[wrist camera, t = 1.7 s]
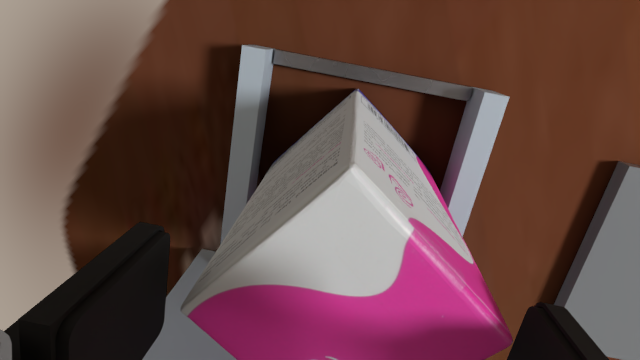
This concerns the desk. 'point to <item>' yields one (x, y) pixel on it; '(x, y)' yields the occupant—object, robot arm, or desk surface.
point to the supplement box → (347, 257)
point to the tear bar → (372, 75)
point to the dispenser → (247, 137)
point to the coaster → (610, 270)
